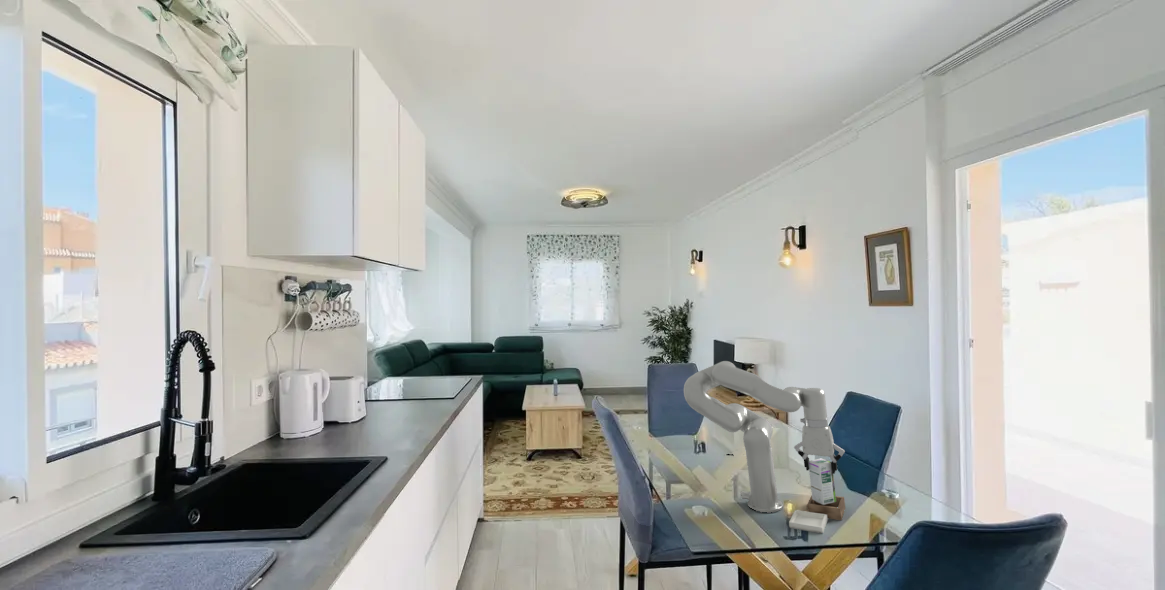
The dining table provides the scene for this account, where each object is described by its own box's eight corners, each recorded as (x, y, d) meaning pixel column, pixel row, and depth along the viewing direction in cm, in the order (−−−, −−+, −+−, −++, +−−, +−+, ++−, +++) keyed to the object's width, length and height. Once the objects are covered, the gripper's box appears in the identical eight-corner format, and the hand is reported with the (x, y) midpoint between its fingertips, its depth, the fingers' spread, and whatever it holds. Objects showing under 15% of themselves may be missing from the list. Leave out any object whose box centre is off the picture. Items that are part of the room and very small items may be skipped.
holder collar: (808, 515, 172) (807, 504, 172) (813, 503, 180) (812, 493, 180) (841, 520, 165) (840, 508, 165) (845, 508, 174) (844, 497, 174)
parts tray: (789, 528, 164) (789, 522, 164) (796, 515, 173) (795, 509, 173) (822, 533, 158) (822, 527, 158) (827, 520, 167) (827, 514, 167)
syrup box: (823, 505, 170) (819, 464, 170) (811, 499, 175) (807, 459, 175) (836, 502, 171) (832, 462, 171) (824, 496, 177) (820, 457, 177)
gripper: (788, 423, 176) (793, 471, 175) (841, 427, 166) (846, 477, 165) (792, 418, 182) (797, 464, 181) (844, 421, 172) (849, 470, 171)
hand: (820, 470), depth 173 cm, fingers closed on syrup box, 8 cm apart
